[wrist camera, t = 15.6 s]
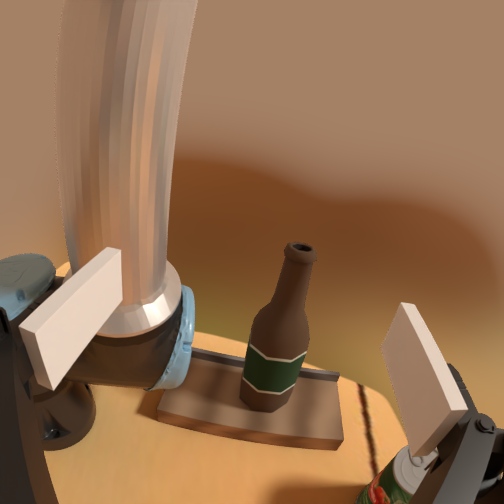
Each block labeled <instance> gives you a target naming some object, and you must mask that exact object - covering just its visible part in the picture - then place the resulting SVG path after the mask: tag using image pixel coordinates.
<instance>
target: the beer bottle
mask: <svg viewBox="0 0 504 504" xmlns="http://www.w3.org/2000/svg"><path fill="white" fill-rule="evenodd" d="M284 254H285V256H286V257H285V260H284V263H283V267H282V270H281V273H280V277H279V280H278V284H277V287H276V291H275V293H274V295H273V298H272V300H271V302H270V303H269V304H267V305H266V306H265V307H263V308H262V309H261V310H260V311H259V313H258V314H257V315H256V317H255V318H254V321H253V325H252V328H251V333H250V337H249V342H248V347H247V352H246V357H245V361H244V366H243V371H242V376H241V385H240V396H239V398H240V399H241V400H242V401H243V402H244V403H245V404H246V405H248V406H249V407H250V408H251V409H252V410H253V411H261V412H270V413H273V412H274V411H276V410H277V409H279V408H280V407H282V406H283V405H285V404H286V403H287V402H288V400H289V398H290V396H291V394H292V391H293V388H294V385H295V383H296V380H297V377H298V375H299V372H300V369H301V366H302V363H303V361H304V358H305V355H306V352H307V348H308V344H309V340H310V338H309V327H308V321H307V316H306V314H305V311H304V308H305V300H306V295H307V290H308V285H309V280H310V275H311V270H312V265H313V262H315V261H317V257H316V250H315V248H313V247H311V246H310V245H308V244H306V243H300V242H293V243H288V244H287V246H286V248H285V249H284Z"/></svg>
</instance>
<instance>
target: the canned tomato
mask: <svg viewBox="0 0 504 504" xmlns="http://www.w3.org/2000/svg"><path fill="white" fill-rule="evenodd" d="M438 454H439V453H438V450H437V449H436V448H435V449H434V450H433V451H432V452H431V453H430V454H429V455H428V456H420V457H412V456H411V452H410V448H409V445H407V446H405V447H404V448H402V449H401V450H400V451H399V452H398V453H397V455H396V456H395V457H394V458H393V459H392V460H391V461H390V462H389V464H388V465H387V466H386V467H385V468H384V469H383V470H382V471H381V472H380V473H379V474H378V475H377V476H376V477H375V478H374V479H373V480H372V481H371V482H370V483H369V484H368V485H367V486H366V487H365V488H364V489H363V490H362V491H361V492H360V493H359V495H358V496H357V499H356V502H355V504H408V503H409V501H410V500H411V498H412V497H413V495H414V493H415V492H416V490H417V488H418V487H419V485H420V483H421V482H422V480H423V478H424V476H425V475H426V473H427V471H428V469H429V468H430V467H429V468H428V469H427V470H426V471H425V470H424V469H425V467H426V466H427V465H428V464H429V463H430V462H431V461H432V460H433V459H434V458H435V457H436V456H437V455H438Z"/></svg>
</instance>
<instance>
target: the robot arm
mask: <svg viewBox="0 0 504 504" xmlns="http://www.w3.org/2000/svg"><path fill="white" fill-rule="evenodd" d="M197 3H198V0H64V2H63V8H62V14H61V22H60V29H59V38H58V48H57V61H56V79H55V141H56V142H55V143H56V161H57V174H58V184H59V194H60V203H61V211H62V219H63V226H64V232H65V238H66V244H67V250H68V255H69V261H70V266H71V268H70V269H69V271H68V272H67V274H66V276H65V277H59V276H55V274H56V270H55V267H54V266H53V263H52V262H51V261H50V260H49V259H48V258H46V257H45V256H43V255H40V254H32V253H30V254H20V255H15V256H11V257H8V258H5V259H2V260H0V504H59V503H58V500H57V497H56V494H55V491H54V488H53V484H52V481H51V478H50V474H49V471H48V467H47V463H46V459H45V456H44V451H43V450H45V451H55V450H61V449H65V448H68V447H70V446H72V445H74V444H76V443H77V442H79V441H80V440H81V439H83V438H84V437H85V436H86V435H87V433H88V432H89V431H90V429H91V427H92V425H93V423H94V420H95V415H96V406H95V401H94V398H93V394H92V391H91V389H90V387H89V385H88V384H95V385H104V386H115V387H126V388H140V389H144V390H146V391H152V390H155V389H173V388H176V387H178V386H179V385H181V383H182V382H183V381H184V379H185V377H186V374H187V371H188V368H189V364H190V359H191V352H192V351H191V344H192V341H193V336H194V325H195V303H194V295H193V292H192V290H191V289H190V288H189V287H187V286H183V285H182V284H181V282H180V278H179V276H178V273H177V272H176V270H175V268H174V267H173V266H172V265H171V264H170V263H169V262H168V261H167V260H166V252H167V233H168V216H169V202H170V190H171V189H170V188H171V177H172V167H173V157H174V148H175V138H176V130H177V122H178V114H179V106H180V99H181V92H182V85H183V78H184V72H185V66H186V60H187V54H188V49H189V43H190V37H191V32H192V27H193V22H194V17H195V13H196V8H197ZM381 351H382V354H383V358H384V361H385V364H386V367H387V370H388V373H389V377H390V380H391V383H392V386H393V390H394V393H395V396H396V400H397V403H398V407H399V410H400V414H401V418H402V421H403V425H404V429H405V432H406V436H407V440H408V444H409V448H410V452H411V456H412V457H420V456H428V455H429V454H430V453H431V452H432V451H433V450H434V449H435V448H436V447H437V449H438V453H439V454H438V455H437V456H436V457H435V458H434V459H433V460H432V461H431V462H430V463H429V464H428V465H427V466H426V467H425V469H424V470H425V471H426V470H427V469H428V468H429V467H430V468H429V469H428V471H427V473H426V475H425V476H424V478H423V480H422V482H421V483H420V485H419V487H418V488H417V490H416V492H415V493H414V495H413V497H412V498H411V500H410V501H409V503H408V504H504V429H499V428H496V425H495V423H494V422H493V420H492V419H491V418H490V417H488V416H487V415H485V414H482V413H478V411H477V409H476V407H475V405H474V403H473V401H472V399H471V396H470V394H469V392H468V390H466V386H465V384H464V383H463V382H462V381H463V380H462V378H461V376H460V374H459V372H458V371H457V370H456V369H455V368H454V367H453V366H452V365H451V364H447V363H446V362H445V360H444V358H443V356H442V354H441V352H440V350H439V348H438V346H437V345H436V343H435V341H434V339H433V337H432V335H431V333H430V331H429V330H428V328H427V326H426V324H425V322H424V321H423V319H422V317H421V316H420V314H419V312H418V310H417V308H416V307H415V305H414V304H408V303H402V302H401V303H400V305H399V308H398V310H397V312H396V315H395V317H394V319H393V321H392V324H391V326H390V328H389V330H388V333H387V335H386V337H385V339H384V341H383V343H382V345H381ZM502 472H503V477H502V479H501V473H502Z"/></svg>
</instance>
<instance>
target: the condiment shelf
mask: <svg viewBox="0 0 504 504" xmlns="http://www.w3.org/2000/svg"><path fill="white" fill-rule="evenodd" d="M191 351H192V352H191V359H190V364H189V368H188V371H187V374H186V377H185V379H184V381H183V382H182V383H181V385H179V386H178V387H176V388H173V389H165V391H164V393H163V395H162V398H161V400H160V403H159V405H158V408H157V417H158V421H159V422H163V423H167V424H170V425H174V426H178V427H182V428H186V429H190V430H195V431H199V432H203V433H208V434H213V435H217V436H223V437H228V438H233V439H239V440H245V441H251V442H257V443H264V444H271V445H279V446H287V447H297V448H308V449H321V450H337V449H338V448H339V446H340V445H341V443H342V442H343V440H344V436H343V427H342V418H341V410H340V402H339V394H338V386H337V381H338V378H339V376H340V374H339V372H332V371H324V370H316V369H309V368H302V367H301V369H300V372H299V375H298V377H297V380H296V383H295V385H294V388H293V391H292V394H291V396H290V398H289V400H288V402H287V403H286V404H285V405H283V406H282V407H280V408H279V409H277V410H276V411H274V412H273V413H270V412H261V411H253V410H252V409H251V408H250V407H249V406H248V405H246V404H245V403H244V402H243V401H242V400H241V399H240V398H239V396H240V385H241V376H242V371H243V366H244V361H245V358H242V357H237V356H231V355H226V354H221V353H217V352H212V351H207V350H203V349H198V348H194V347H191Z"/></svg>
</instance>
